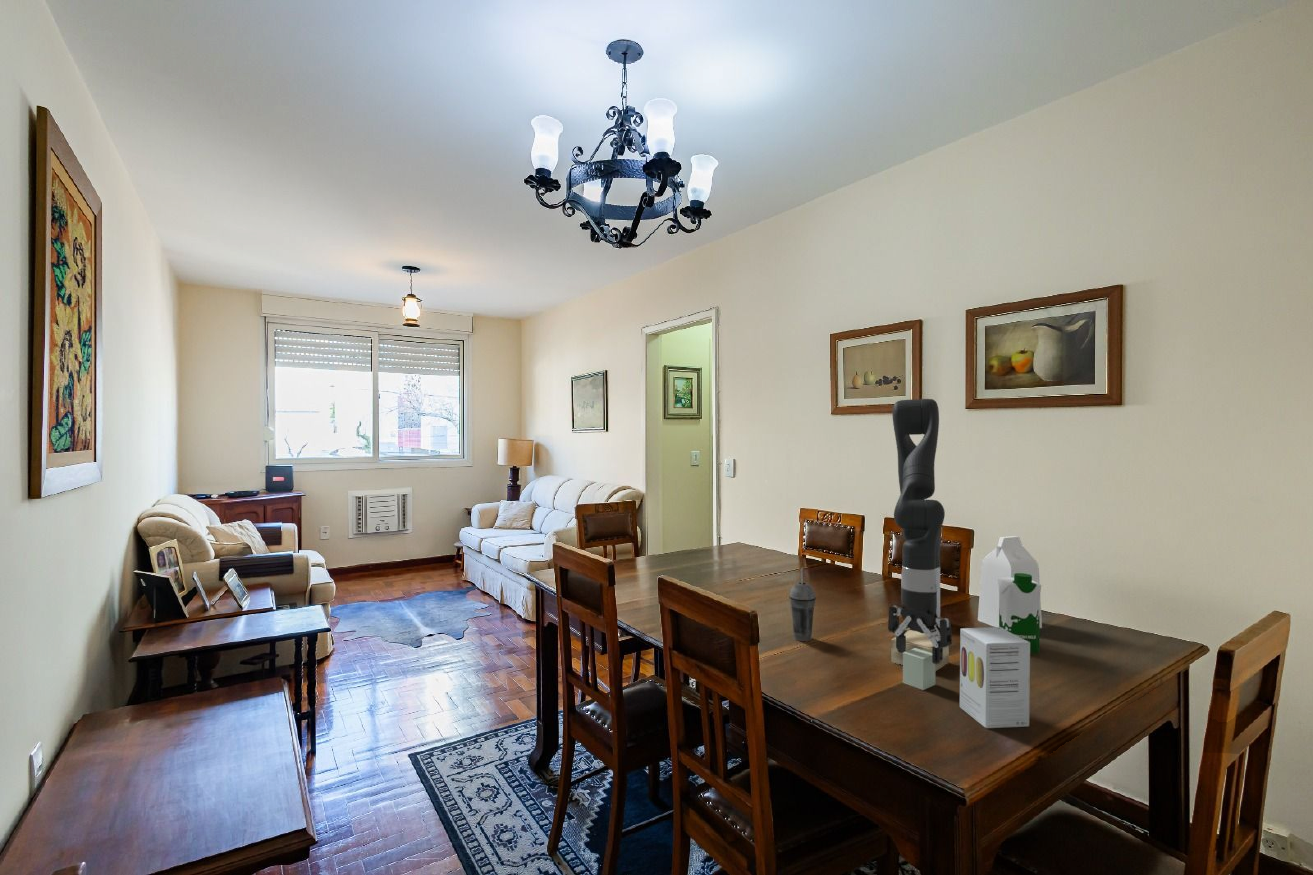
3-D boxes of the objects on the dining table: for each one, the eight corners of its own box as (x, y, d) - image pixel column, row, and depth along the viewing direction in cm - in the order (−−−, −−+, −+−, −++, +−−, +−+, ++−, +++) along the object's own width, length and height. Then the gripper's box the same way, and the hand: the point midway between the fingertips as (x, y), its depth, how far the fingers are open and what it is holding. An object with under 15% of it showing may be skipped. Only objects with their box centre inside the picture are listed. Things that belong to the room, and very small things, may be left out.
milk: (1008, 616, 191) (1008, 532, 190) (1041, 627, 180) (1042, 539, 179) (977, 620, 187) (977, 535, 186) (1010, 632, 176) (1010, 541, 175)
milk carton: (1009, 654, 159) (1009, 576, 159) (993, 641, 168) (993, 568, 168) (1045, 655, 158) (1045, 577, 158) (1027, 642, 167) (1027, 569, 167)
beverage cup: (818, 636, 173) (818, 565, 173) (813, 644, 167) (813, 571, 166) (792, 633, 176) (792, 563, 176) (786, 641, 170) (786, 568, 169)
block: (902, 682, 142) (902, 652, 142) (915, 677, 145) (915, 648, 144) (923, 690, 138) (923, 659, 137) (935, 684, 140) (935, 654, 140)
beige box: (891, 663, 154) (891, 638, 154) (909, 653, 161) (909, 629, 161) (931, 674, 147) (931, 648, 147) (948, 663, 154) (948, 638, 153)
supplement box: (958, 707, 129) (958, 627, 129) (999, 705, 130) (1000, 625, 130) (986, 729, 120) (986, 643, 119) (1031, 727, 120) (1031, 641, 120)
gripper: (881, 582, 144) (881, 652, 144) (939, 595, 133) (939, 671, 133) (900, 578, 149) (900, 645, 149) (958, 590, 137) (958, 663, 137)
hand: (918, 657), depth 141 cm, fingers open, 8 cm apart
